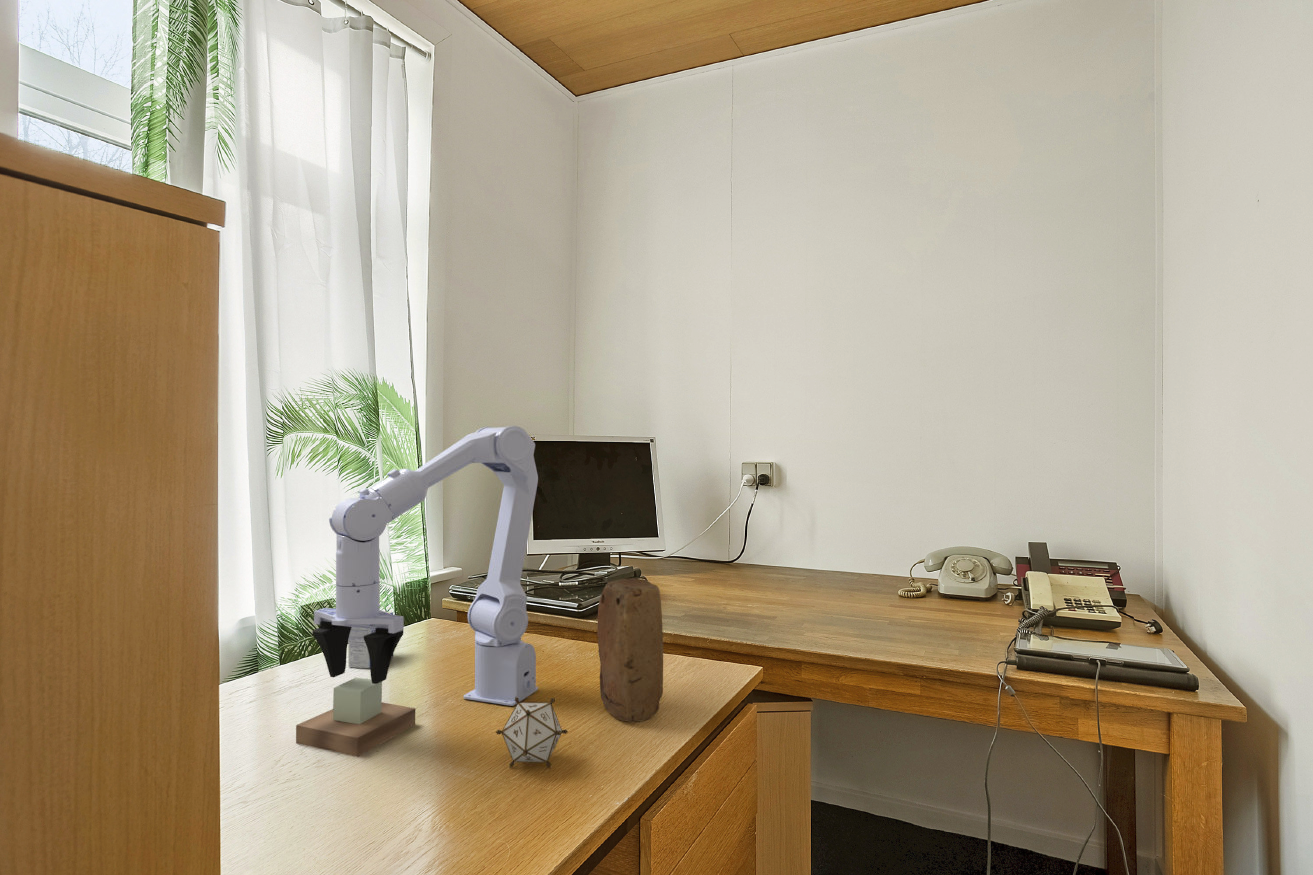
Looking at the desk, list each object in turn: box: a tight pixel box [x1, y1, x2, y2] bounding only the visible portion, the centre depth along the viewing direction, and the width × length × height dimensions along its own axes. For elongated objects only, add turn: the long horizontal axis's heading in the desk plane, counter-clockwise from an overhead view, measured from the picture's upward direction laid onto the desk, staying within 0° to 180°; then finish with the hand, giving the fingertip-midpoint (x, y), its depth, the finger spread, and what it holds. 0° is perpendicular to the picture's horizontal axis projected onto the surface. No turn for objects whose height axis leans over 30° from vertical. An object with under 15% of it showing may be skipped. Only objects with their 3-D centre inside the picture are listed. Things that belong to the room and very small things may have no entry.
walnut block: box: [295, 701, 416, 757], centre depth 97 cm, size 11×11×3 cm
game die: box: [494, 696, 569, 769], centre depth 88 cm, size 9×8×10 cm
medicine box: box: [347, 611, 394, 670], centre depth 129 cm, size 8×4×9 cm, turn 168°
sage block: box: [332, 677, 383, 724], centre depth 97 cm, size 4×4×4 cm
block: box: [596, 577, 664, 723], centre depth 105 cm, size 11×8×20 cm
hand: (358, 678), depth 97 cm, fingers open, 7 cm apart
